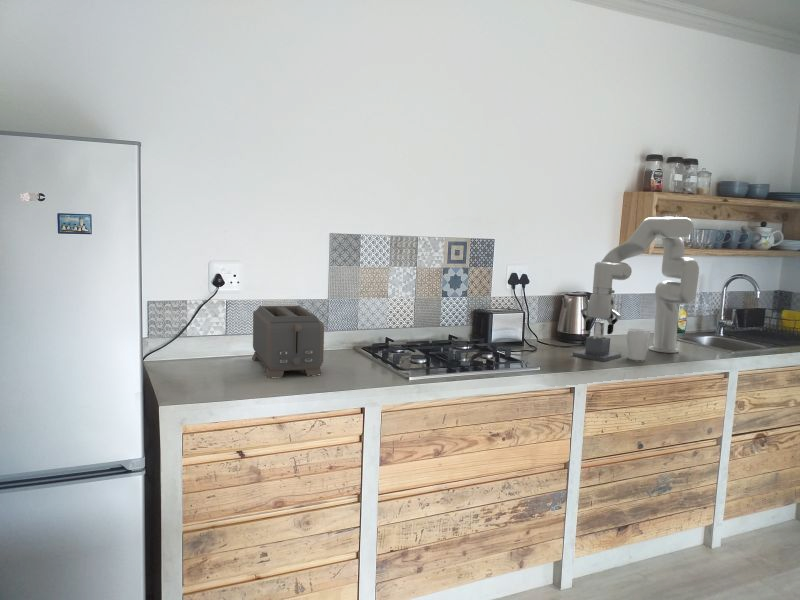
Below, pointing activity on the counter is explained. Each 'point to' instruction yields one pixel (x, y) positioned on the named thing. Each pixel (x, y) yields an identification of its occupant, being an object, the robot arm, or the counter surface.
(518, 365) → the counter surface
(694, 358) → the counter surface
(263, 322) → the toaster
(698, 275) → the robot arm
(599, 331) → the column
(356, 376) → the counter surface
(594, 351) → the stand base
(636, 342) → the cup
